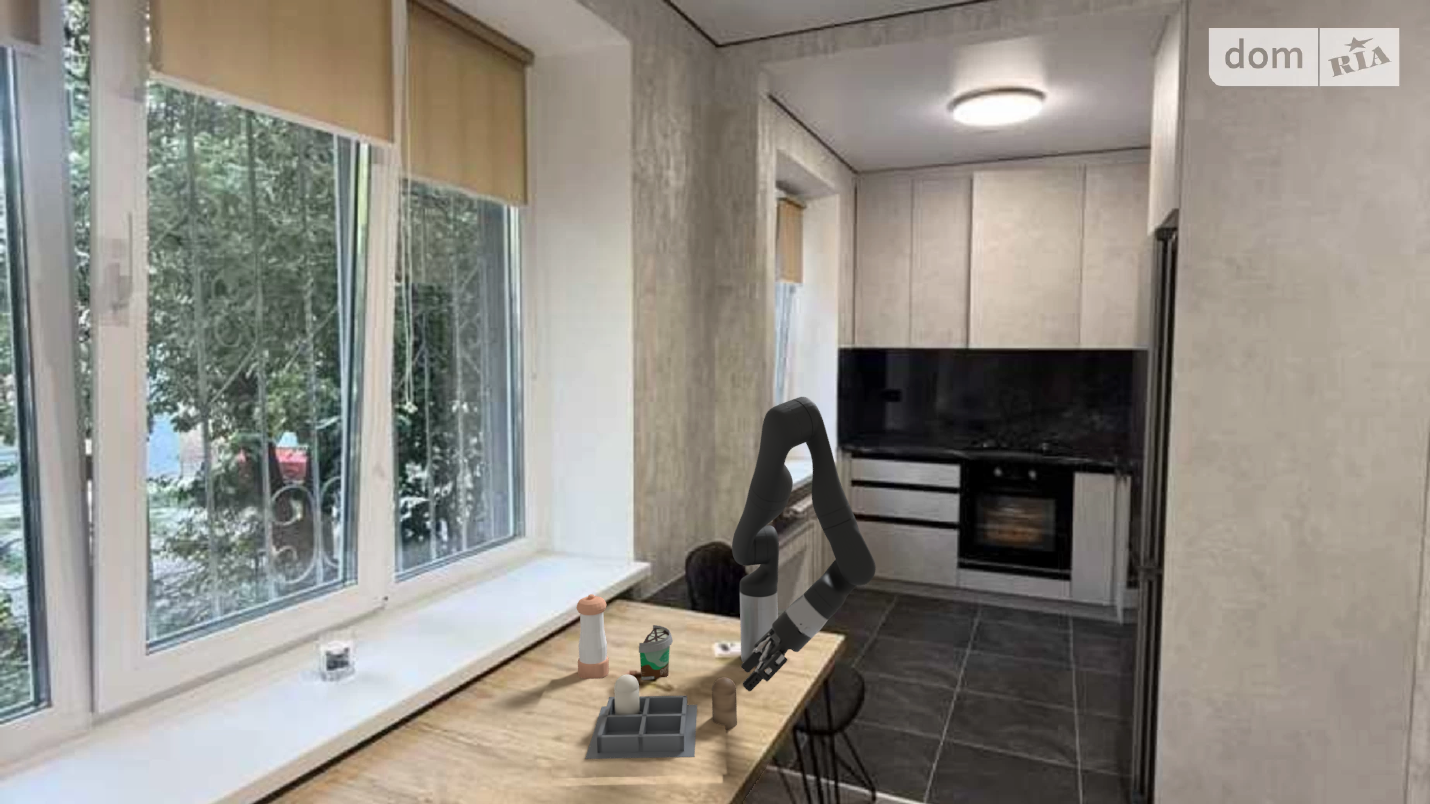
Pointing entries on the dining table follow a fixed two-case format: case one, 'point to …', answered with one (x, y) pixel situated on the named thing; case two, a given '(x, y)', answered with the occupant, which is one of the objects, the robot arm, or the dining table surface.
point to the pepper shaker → (592, 639)
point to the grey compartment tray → (646, 730)
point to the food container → (655, 653)
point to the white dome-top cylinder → (627, 696)
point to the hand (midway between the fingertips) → (744, 678)
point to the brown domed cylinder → (724, 702)
